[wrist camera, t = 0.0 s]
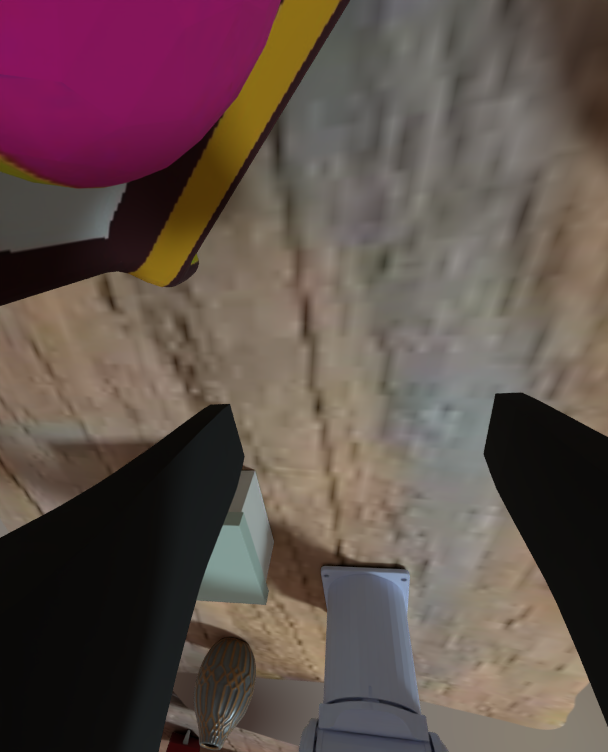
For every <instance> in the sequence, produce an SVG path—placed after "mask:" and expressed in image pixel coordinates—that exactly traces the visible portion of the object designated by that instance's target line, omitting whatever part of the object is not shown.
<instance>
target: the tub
mask: <svg viewBox="0 0 608 752" xmlns="http://www.w3.org/2000/svg"><path fill="white" fill-rule="evenodd" d="M228 512H244V515H245V518H246V521H247V524H248V528H249V531H250V534H251V537H252V540H253V543H254V546H255V550H256V553H257V556H258V559H259V562H260V565H261V568H262V571H263V575H264V578H265V581H266V579H267V574H268V569H269V565H270V560H271V555H272V550H273V545H274V540H273V536H272V532H271V528H270V525H269V521H268V517H267V513H266V510H265V506H264V502H263V499H262V495H261V491H260V487H259V484H258V480H257V476H256V472H255V471H241V475H240V479H239V483H238V486H237V490H236V492H235V495H234V498H233V500H232V503H231V506H230V508H229V511H228Z"/></svg>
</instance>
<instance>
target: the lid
mask: <svg viewBox="0 0 608 752" xmlns="http://www.w3.org/2000/svg"><path fill="white" fill-rule="evenodd" d="M268 592H269V590H268V587H267V584H266V581H265V578H264V575H263V571H262V568H261V565H260V562H259V559H258V556H257V553H256V550H255V546H254V543H253V540H252V537H251V534H250V531H249V528H248V524H247V521H246V518H245V515H244V512H228V514H227V516H226V519H225V521H224V524H223V526H222V529H221V532H220V534H219V537H218V539H217V542H216V544H215V547H214V550H213V552H212V555H211V557H210V560H209V562H208V565H207V568H206V571H205V574H204V577H203V580H202V583H201V586H200V589H199V593H198V596H197V600H200V601H215V602H230V603H246V604H261V605H266V603H267V598H268Z"/></svg>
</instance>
